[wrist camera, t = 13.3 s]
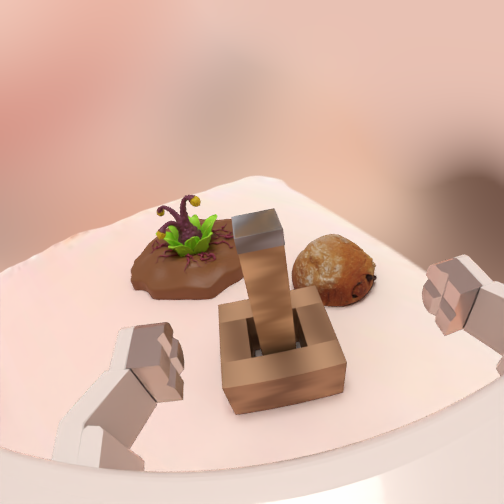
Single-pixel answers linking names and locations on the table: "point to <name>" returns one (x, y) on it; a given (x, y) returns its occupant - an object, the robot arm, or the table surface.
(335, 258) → the bread roll
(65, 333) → the table surface
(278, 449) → the table surface
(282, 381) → the square wooden socket base
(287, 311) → the upright wooden post
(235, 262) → the plant
